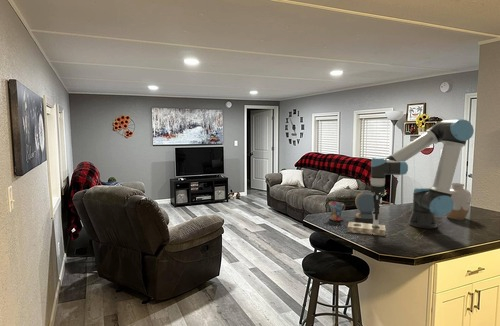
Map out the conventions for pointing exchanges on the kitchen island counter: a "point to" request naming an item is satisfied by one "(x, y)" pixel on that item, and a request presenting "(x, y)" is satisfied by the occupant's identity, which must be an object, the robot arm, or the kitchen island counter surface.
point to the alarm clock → (365, 204)
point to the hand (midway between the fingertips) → (375, 222)
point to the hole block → (366, 228)
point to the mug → (336, 211)
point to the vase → (459, 202)
